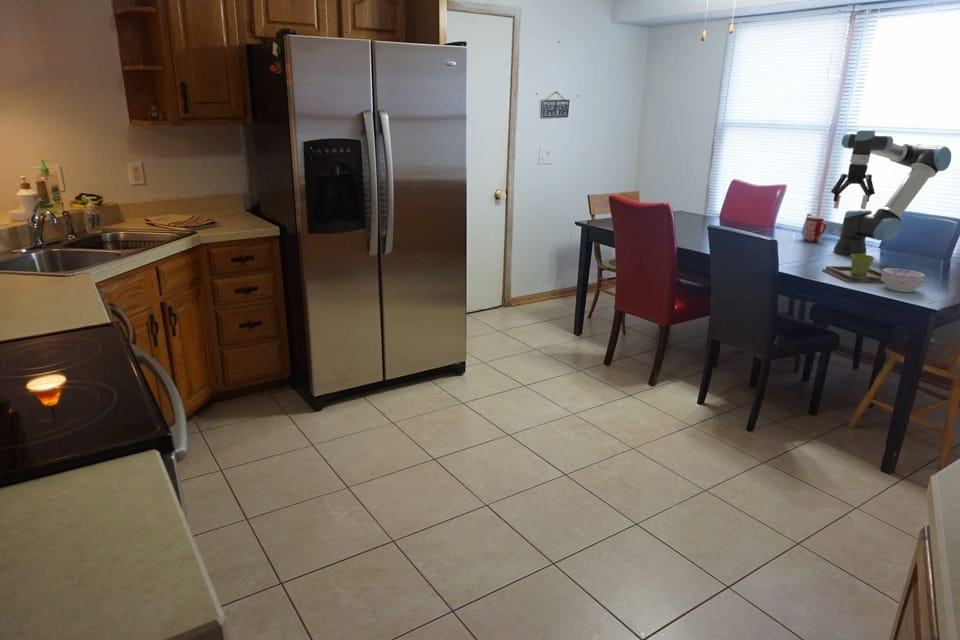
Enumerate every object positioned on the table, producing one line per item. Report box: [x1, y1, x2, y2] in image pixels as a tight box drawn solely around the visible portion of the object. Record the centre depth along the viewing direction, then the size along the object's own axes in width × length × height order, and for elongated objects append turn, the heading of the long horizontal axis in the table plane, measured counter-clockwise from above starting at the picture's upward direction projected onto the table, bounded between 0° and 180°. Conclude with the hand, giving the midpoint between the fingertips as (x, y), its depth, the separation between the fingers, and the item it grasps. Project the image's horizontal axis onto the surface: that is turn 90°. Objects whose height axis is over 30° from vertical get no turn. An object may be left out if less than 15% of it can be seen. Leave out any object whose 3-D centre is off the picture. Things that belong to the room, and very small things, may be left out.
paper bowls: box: [881, 267, 926, 293], centre depth 269 cm, size 15×15×8 cm
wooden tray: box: [821, 265, 885, 284], centre depth 289 cm, size 22×20×2 cm
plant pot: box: [850, 254, 875, 276], centre depth 288 cm, size 9×9×9 cm
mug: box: [803, 215, 827, 242], centre depth 364 cm, size 13×9×14 cm
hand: (849, 208), depth 307 cm, fingers open, 13 cm apart
